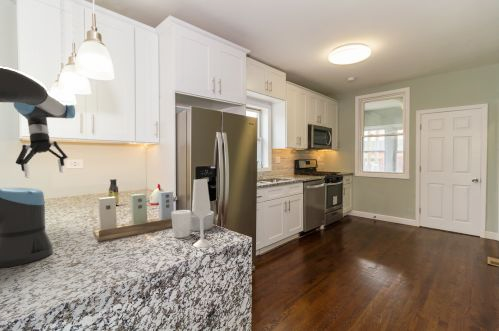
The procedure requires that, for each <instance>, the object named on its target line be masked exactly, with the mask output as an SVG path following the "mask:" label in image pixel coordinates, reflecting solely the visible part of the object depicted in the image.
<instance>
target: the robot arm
mask: <svg viewBox="0 0 499 331" xmlns="http://www.w3.org/2000/svg"><path fill="white" fill-rule="evenodd" d="M0 103H13V106H14V108H15V110H16V111H17V113H19V114H20V115H21V116H22V117H24V118H25V119H26V120H27V126H28V133H29V141H30V144H29V145H27V144H22V148H21V151H20V153H19V155H18V156H17V158H16V161H15V164H17V165H20V167H21V171H22V172H24V177H25V178H27V179H30V178H31V177H30V168H29V164H28V162H30V161H31V159H32V158H33V157H34V156H35V155H36V154H42V153H47V152H50V153H51V154H52V155H53V156H55V157H56V158H58V159H57V164H58V171H59V173H62V174H63V173H64V171H63V169H64V168H63V167H64V166H65V161H64V160H67V159H69V157H68V155H67V154H66V153H65V151H63V149H62V148H61V147H60V146H59V143H58V142H57V141H53V142H51V141H50V135H49V134H50V133H49V132H50V131H49V127H48V118H53V119H55V118H57V119H74V118H75V116H76V107H75V106H74V104H73V103H70V102H69V103H68V102H63V101H61V100H60V99H58V98H57V97H56V96H55V95H54V94H52V93H50V92H49V91H48V89H47V87H46V86H45V85H44V84H43V83H42V82H40V81H39V80H37V79H35V78H34V77H33V76H30V75H28V74H25V73H24V72H21V71H18V70H15V69H13V68H10V67H5V66H0ZM52 147H54V148H55V149H56V150H57V151H58V152H59V153H60V154H61V155H62V156H61V155H60V154H58V153H57V152H55V151H54V150H52V149H51V148H52ZM28 151H29V152H28ZM27 153H28V154H27ZM45 204H46V201H45V194H44V192H43V191H42V190H41V189H38V188H32V187H30V188H29V187H0V268H7V267H8V268H9V267H14V266H20V265H24V264H29V263H32V262H36V261H39V260H41V259H44V258H47V257H49V256H50V255H51V254H53V252H54V250H53V247H54V246H53V243H52V241H51V240H50V238H49V235H48V233H47V231H46V211H45V210H46V209H45V208H46V206H45Z"/></svg>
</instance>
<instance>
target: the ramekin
mask: <svg viewBox="0 0 499 331" xmlns="http://www.w3.org/2000/svg"><path fill="white" fill-rule="evenodd" d="M214 218H215V211H213V210H210V211H209V213H208V214H207V215H206V216H205V217H204V218H203V229H204V231H208V230H210V229H212V228H213V225H214ZM190 232H200V218H198V217H197V216H196V215H195V214H194V213H193V211H191V228H190Z"/></svg>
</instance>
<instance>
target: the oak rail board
mask: <svg viewBox="0 0 499 331" xmlns="http://www.w3.org/2000/svg"><path fill="white" fill-rule="evenodd" d="M169 228H173V227H172V218H170V219H164V220H159V217H158V218H152V219H147V222H146V223H140V224H135V225H132V222H130V223H122V224H118V225H117V228H111V229H105V230H100V227H98V228H94V229H93V232H92V233H93V235H94V237H95V238H97V239H96V240H97V242H102V241H107V240H113V239H117V238H123V237H128V236H132V235H138V234H142V233H147V232H148V233H149V232H153V231H158V230H164V229H169Z"/></svg>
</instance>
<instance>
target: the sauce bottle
mask: <svg viewBox="0 0 499 331" xmlns="http://www.w3.org/2000/svg"><path fill="white" fill-rule="evenodd" d="M109 182H110V184H109V188H108V197H116V205H117V204H118V205H119V203H120V202H119V186H117V178H111V179H109Z"/></svg>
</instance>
